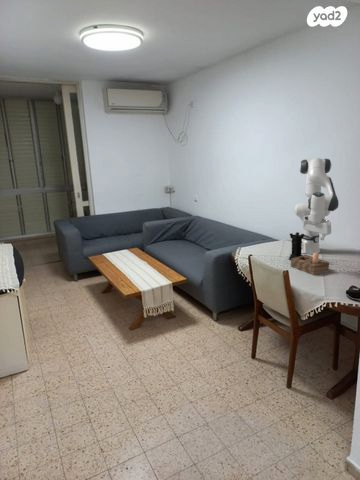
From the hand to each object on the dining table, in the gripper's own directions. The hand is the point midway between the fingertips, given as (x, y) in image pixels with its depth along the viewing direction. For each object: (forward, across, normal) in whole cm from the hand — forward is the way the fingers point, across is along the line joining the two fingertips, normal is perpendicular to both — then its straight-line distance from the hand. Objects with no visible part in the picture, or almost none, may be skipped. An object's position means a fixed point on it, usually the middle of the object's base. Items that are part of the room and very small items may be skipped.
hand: (316, 238), depth 216 cm
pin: (+20, 0, 0) cm, 21 cm away
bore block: (+22, +5, 0) cm, 23 cm away
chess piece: (+23, +23, -6) cm, 33 cm away
